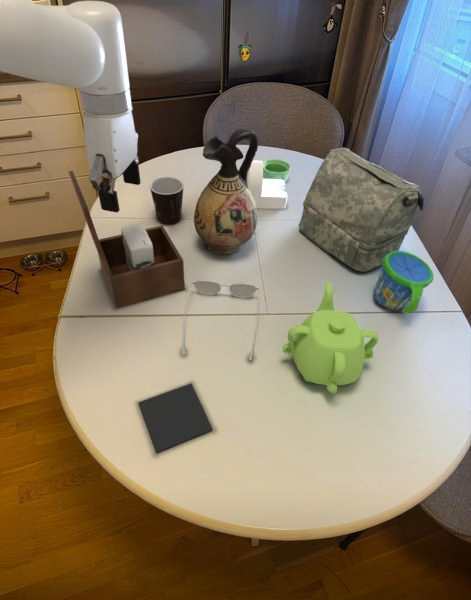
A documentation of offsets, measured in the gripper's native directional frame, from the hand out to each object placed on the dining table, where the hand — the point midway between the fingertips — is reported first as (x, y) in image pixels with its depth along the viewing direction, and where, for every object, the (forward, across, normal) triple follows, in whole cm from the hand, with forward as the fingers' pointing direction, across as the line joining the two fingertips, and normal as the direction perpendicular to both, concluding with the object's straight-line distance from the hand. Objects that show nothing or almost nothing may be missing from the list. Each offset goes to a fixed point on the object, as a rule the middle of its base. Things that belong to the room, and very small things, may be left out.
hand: (122, 196), depth 77 cm
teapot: (+24, +9, +43) cm, 50 cm away
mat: (+24, +28, +18) cm, 41 cm away
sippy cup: (+24, -12, +56) cm, 62 cm away
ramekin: (+24, -59, +22) cm, 68 cm away
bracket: (+24, -46, +18) cm, 55 cm away
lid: (+7, +1, -6) cm, 9 cm away
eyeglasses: (+24, +5, +21) cm, 32 cm away
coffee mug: (+24, -27, -2) cm, 37 cm away
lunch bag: (+24, -32, +46) cm, 61 cm away
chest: (+24, -4, 0) cm, 24 cm away
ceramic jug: (+24, -22, +16) cm, 37 cm away
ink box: (+24, -4, 0) cm, 24 cm away
